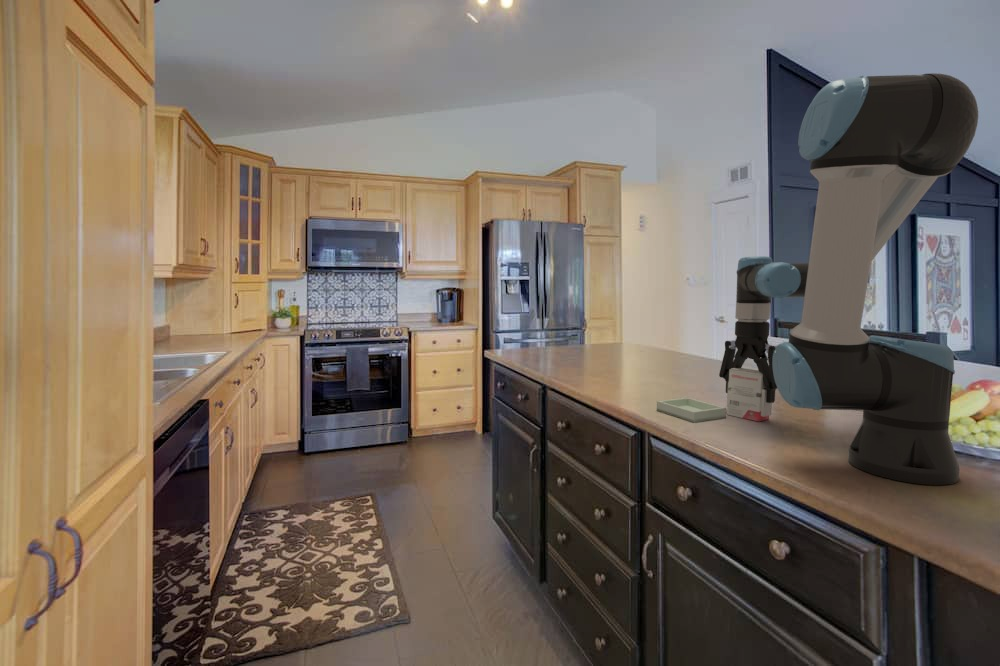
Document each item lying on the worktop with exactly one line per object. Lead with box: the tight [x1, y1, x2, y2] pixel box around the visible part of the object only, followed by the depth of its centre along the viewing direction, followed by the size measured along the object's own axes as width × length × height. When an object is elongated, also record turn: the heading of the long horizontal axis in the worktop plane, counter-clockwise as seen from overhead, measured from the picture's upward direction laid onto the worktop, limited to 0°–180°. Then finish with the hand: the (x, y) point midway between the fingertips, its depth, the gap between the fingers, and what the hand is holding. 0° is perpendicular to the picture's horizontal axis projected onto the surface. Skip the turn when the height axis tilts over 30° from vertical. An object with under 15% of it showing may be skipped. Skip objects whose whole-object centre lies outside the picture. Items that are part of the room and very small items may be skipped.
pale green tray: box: [656, 397, 727, 423], centre depth 125 cm, size 13×11×2 cm
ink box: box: [726, 367, 770, 422], centre depth 122 cm, size 9×5×12 cm, turn 34°
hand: (748, 410), depth 122 cm, fingers closed on ink box, 9 cm apart
